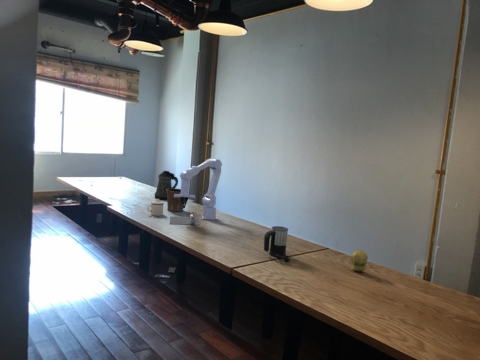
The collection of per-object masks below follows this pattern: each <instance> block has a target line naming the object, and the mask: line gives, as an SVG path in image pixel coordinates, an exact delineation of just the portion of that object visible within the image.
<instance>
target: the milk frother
mask: <svg viewBox="0 0 480 360" xmlns="http://www.w3.org/2000/svg"><path fill="white" fill-rule="evenodd" d="M288 231H289V228H288V227H284V226H277V225H276V226H271V230H268V231H266V232H265V234H264V236H263V237H264V239H263V251H264V252H266V253H267V252H268V254H269V255H270V256H272V257H275V258H276V257H277V258H279V257H280V258H281V259H283V260H284V261H286V262H288V261H291V258H290V257H289V255H286V254H287V253H286V252H287V240H288Z"/></svg>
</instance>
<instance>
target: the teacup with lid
mask: <svg viewBox="0 0 480 360" xmlns="http://www.w3.org/2000/svg"><path fill="white" fill-rule="evenodd" d="M164 204H165V203H164V201H162V200H159V199H155V200H154V201H151V204H149V205H147V211H148V212H150V215H151V216H155V217H160V216H163V215H164ZM149 207H150V209H149Z"/></svg>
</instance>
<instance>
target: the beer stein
mask: <svg viewBox="0 0 480 360" xmlns="http://www.w3.org/2000/svg"><path fill="white" fill-rule="evenodd" d="M172 181H175V183H174V185H173V186H172ZM178 184H179V179H178V177H177V176H175V174H174V173H172V172H170V170H163V171H162V172H161V173H160V174H159V175H158V182H157V187H156V189H155V193H154V199H155V200H156V199H159V200H160V201H167V191H166V189H177V186H178Z"/></svg>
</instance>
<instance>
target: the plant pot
mask: <svg viewBox="0 0 480 360" xmlns="http://www.w3.org/2000/svg"><path fill="white" fill-rule="evenodd" d="M166 191H167V200H166V202H167V203H166V205H167V206H166V207H167V208H166V209H167V210H168V212H173V213H174V212H175V213H177V212H179V213H180V212H183V211H184V208H183V204H182V201H181V197H174V194H181V188H175V189H166ZM184 203H185V198H184Z"/></svg>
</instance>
